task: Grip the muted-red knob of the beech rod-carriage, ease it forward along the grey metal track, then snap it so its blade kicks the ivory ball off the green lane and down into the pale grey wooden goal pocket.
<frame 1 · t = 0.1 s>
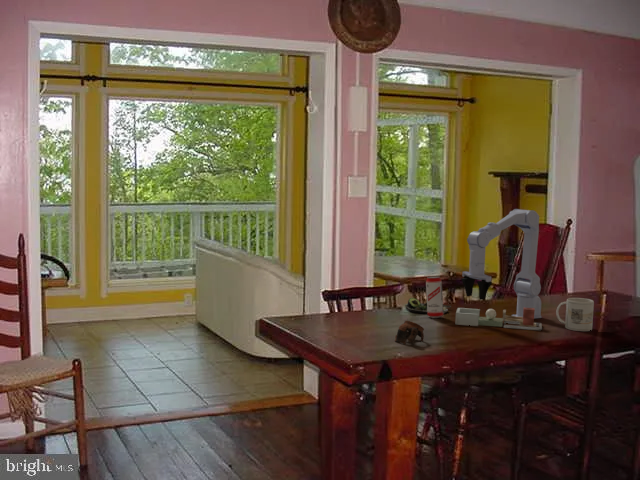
hand: (475, 297, 296), 10 cm above the table, fingers open, 7 cm apart
brown animal figurine: (409, 343, 263), on the table
carriage: (519, 316, 294), point 4 cm above the table, slide at 0.0 cm
beer can: (435, 317, 306), on the table
mug: (575, 328, 294), on the table
ball: (490, 314, 296), point 4 cm above the table, touching track
goal: (468, 322, 299), on the table
track: (527, 327, 293), on the table
salad plate: (424, 311, 322), on the table
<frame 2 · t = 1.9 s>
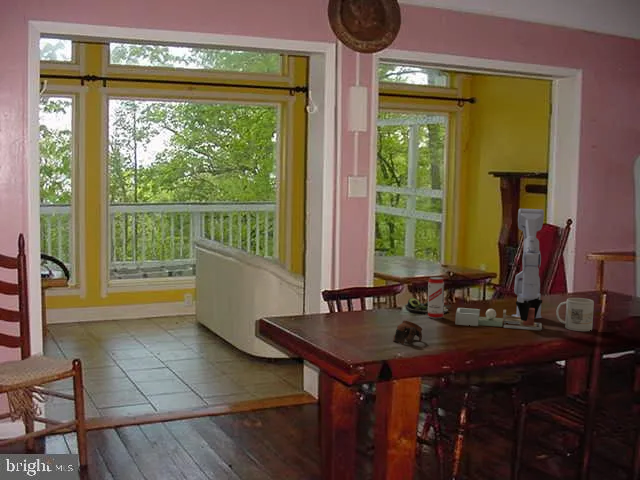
hand: (528, 319, 293), 3 cm above the table, fingers open, 6 cm apart
carriage: (519, 316, 294), point 4 cm above the table, slide at -0.1 cm, touching gripper
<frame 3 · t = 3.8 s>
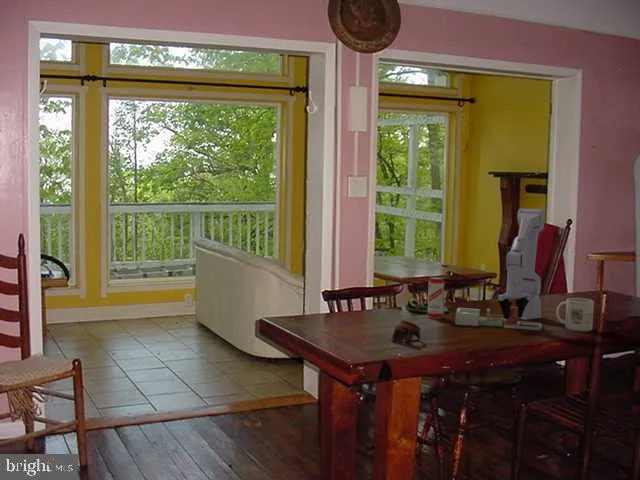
hand: (512, 318, 294), 3 cm above the table, fingers open, 6 cm apart
carriage: (503, 315, 295), point 4 cm above the table, slide at 6.1 cm, touching gripper
ball: (464, 317, 299), point 2 cm above the table, tilted 67°
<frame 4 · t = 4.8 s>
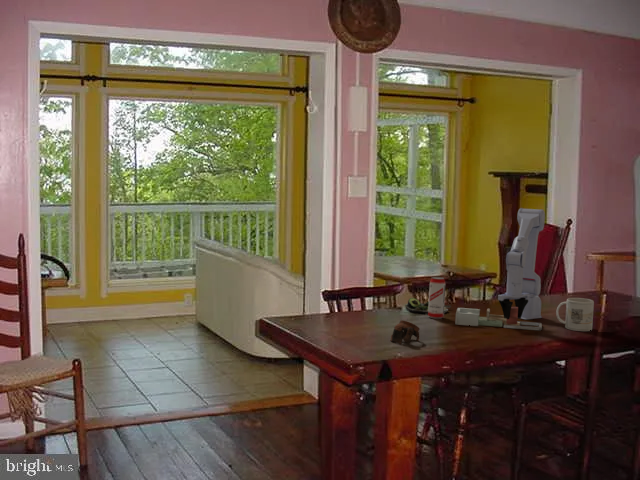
hand: (512, 318, 294), 3 cm above the table, fingers closed on carriage, 6 cm apart
carriage: (503, 315, 295), point 4 cm above the table, slide at 6.1 cm, touching gripper
ball: (469, 317, 298), point 2 cm above the table, tilted 122°
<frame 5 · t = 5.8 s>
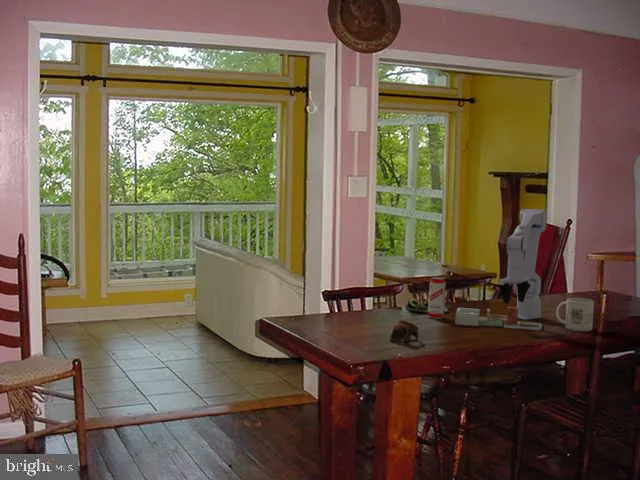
hand: (513, 302, 294), 9 cm above the table, fingers open, 7 cm apart
carriage: (503, 315, 295), point 4 cm above the table, slide at 6.0 cm
ball: (471, 317, 298), point 2 cm above the table, tilted 146°
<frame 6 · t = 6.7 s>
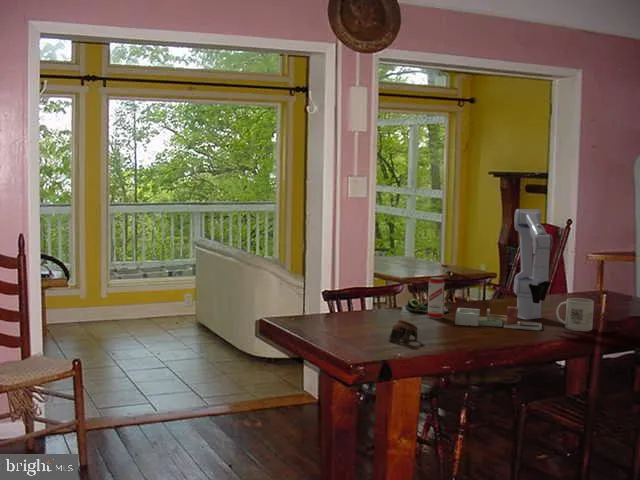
hand: (538, 301, 292), 10 cm above the table, fingers open, 7 cm apart
ball: (471, 317, 298), point 2 cm above the table, tilted 140°
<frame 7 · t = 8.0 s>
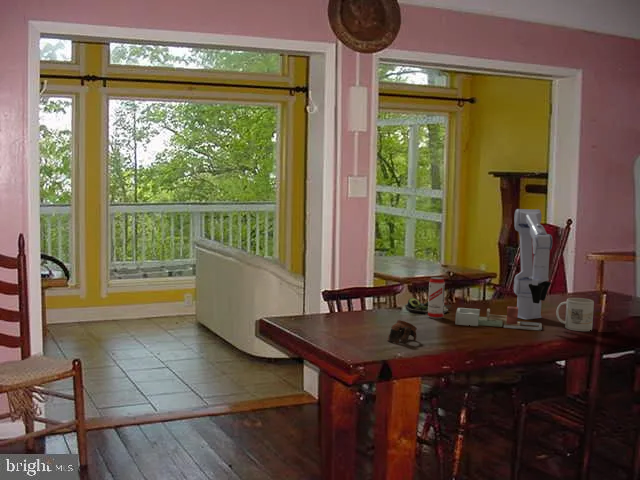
hand: (538, 301, 292), 10 cm above the table, fingers open, 7 cm apart
ball: (470, 317, 298), point 2 cm above the table, tilted 131°
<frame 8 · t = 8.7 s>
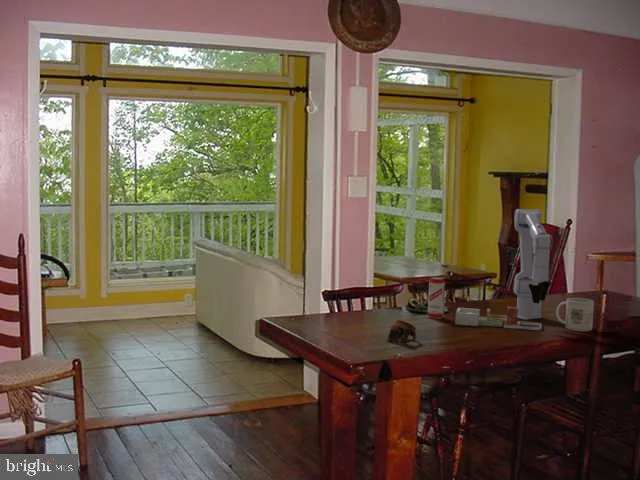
hand: (538, 301, 292), 10 cm above the table, fingers open, 7 cm apart
at the end: ball 0.7 cm from the goal (horizontally); ball point 2.0 cm above the table; carriage slide at 6.0 cm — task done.
